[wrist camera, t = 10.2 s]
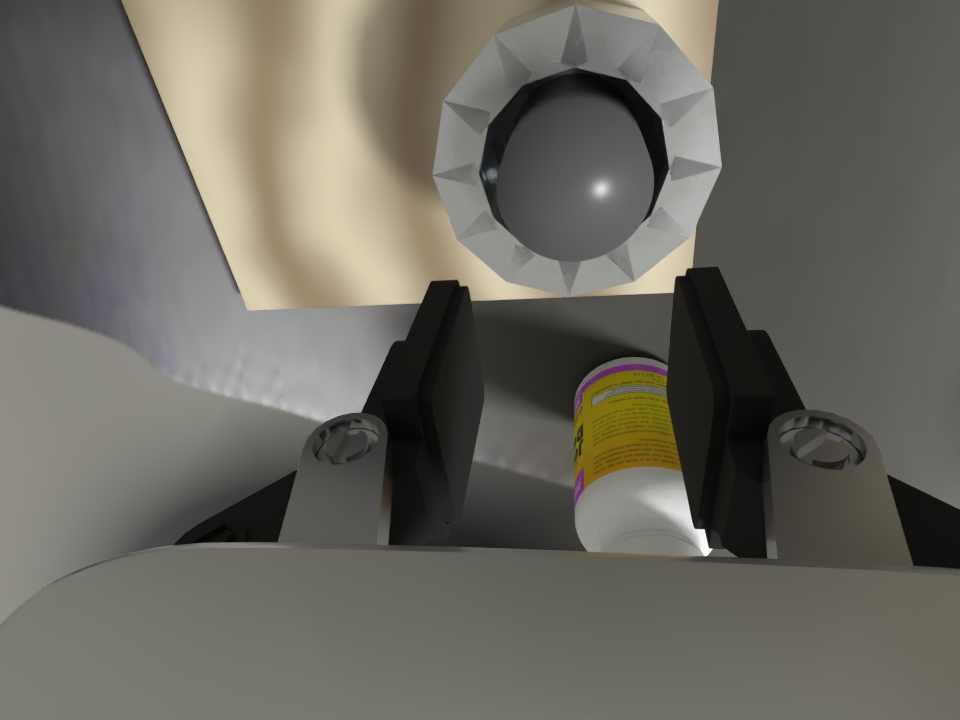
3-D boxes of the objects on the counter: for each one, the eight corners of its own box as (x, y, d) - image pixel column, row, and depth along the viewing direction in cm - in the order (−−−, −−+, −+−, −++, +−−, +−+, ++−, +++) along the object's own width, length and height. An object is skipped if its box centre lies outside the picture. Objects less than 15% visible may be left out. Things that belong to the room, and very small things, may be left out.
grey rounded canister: (576, 42, 22) (576, 69, 17) (664, 138, 23) (687, 188, 19) (486, 144, 24) (465, 193, 20) (571, 224, 26) (570, 288, 21)
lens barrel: (576, -69, 21) (577, -73, 17) (744, 128, 24) (779, 165, 20) (413, 141, 26) (383, 176, 22) (568, 281, 29) (568, 335, 25)
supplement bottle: (562, 363, 33) (557, 550, 23) (680, 341, 31) (732, 534, 21) (587, 445, 37) (592, 639, 27) (695, 430, 35) (746, 632, 25)
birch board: (723, -124, 20) (731, -128, 19) (685, 280, 29) (689, 291, 28) (128, -27, 24) (110, -26, 23) (257, 299, 34) (248, 310, 33)
